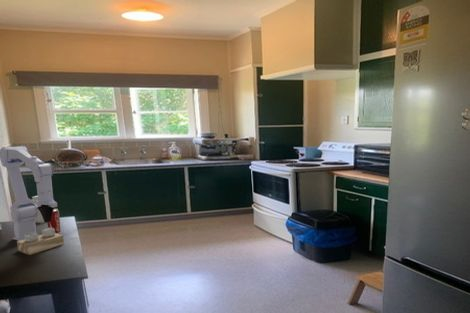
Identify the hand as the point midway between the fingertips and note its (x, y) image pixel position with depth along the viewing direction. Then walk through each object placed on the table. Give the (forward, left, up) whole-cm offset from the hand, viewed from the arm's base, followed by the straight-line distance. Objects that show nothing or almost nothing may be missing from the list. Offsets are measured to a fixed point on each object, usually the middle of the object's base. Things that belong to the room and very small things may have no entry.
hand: (47, 221), depth 137 cm
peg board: (0, -4, -10) cm, 11 cm away
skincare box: (-44, +19, -11) cm, 49 cm away
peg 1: (0, -7, -7) cm, 10 cm away
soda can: (-14, +9, -11) cm, 20 cm away
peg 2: (0, 0, -7) cm, 7 cm away
